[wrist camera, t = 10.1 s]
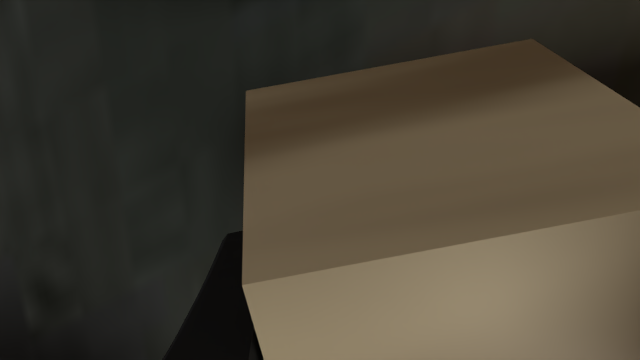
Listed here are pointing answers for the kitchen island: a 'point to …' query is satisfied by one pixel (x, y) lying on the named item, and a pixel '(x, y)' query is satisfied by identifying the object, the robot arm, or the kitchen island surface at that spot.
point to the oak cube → (444, 212)
